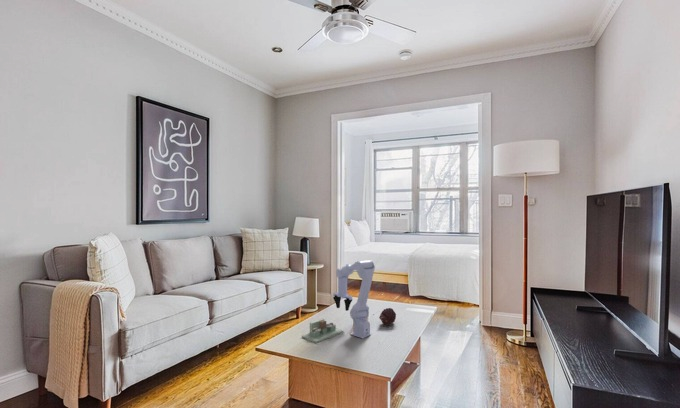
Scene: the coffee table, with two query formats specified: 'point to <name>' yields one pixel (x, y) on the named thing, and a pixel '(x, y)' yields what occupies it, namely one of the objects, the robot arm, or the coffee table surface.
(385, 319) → the pine cone
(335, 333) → the mint green baseplate
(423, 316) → the coffee table surface
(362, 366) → the coffee table surface
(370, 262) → the robot arm
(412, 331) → the coffee table surface
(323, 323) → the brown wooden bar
